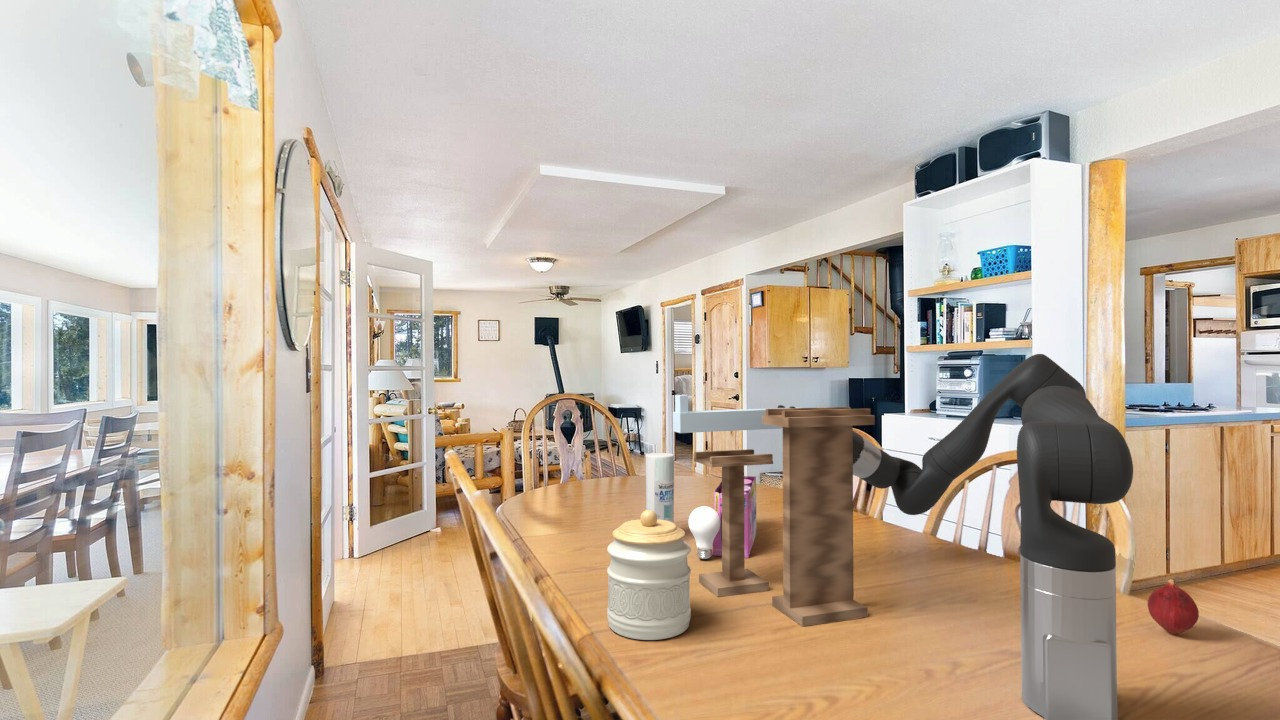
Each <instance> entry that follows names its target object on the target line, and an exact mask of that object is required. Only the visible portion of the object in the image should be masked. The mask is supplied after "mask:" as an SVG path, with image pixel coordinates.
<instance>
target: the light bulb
mask: <svg viewBox="0 0 1280 720" xmlns="http://www.w3.org/2000/svg"><path fill="white" fill-rule="evenodd" d="M687 524H688V527H689V530H690V532H691V534H692V535H693V537H694V540H695V545H696V548H697V552H696V553H697V555H696V556H697V557H698V558H700V559H701V560H703V561H705V560H709V559H710V558H711V557H712V556H713V540H714V538H715V536H716V534H717V533H718V531H719V529H720V518H719V515H718V513H717V512H716V511H715V510H714V508H712V507H711V506H707V505H702V506H698V507H696V508H695V509H693V510H692V511H691V513H690V515H689V517H688V522H687Z"/></svg>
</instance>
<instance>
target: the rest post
mask: <svg viewBox="0 0 1280 720" xmlns="http://www.w3.org/2000/svg"><path fill="white" fill-rule="evenodd" d="M693 453H694V454H693V455H694V458H693V462H696V463H699V464H702V465H705V466H707V467H709V468H721V481H722V556H721V571H716V572H714V571H713V572H705V573H699V574H698V583H699V584H701V586H703V587H704V588H706V589H707V590H708V591H709V592H711V593H712V594H713V595H715V596H716V597H717V598H721V597H728V596H729V597H730V596H737V595H745V594H753V593H762V592H768V591H769V590H770V589H769V588H770V585H769V584H770V582H769V581H768V580H766V579H765V578H763V577H761V576H760V575H758V574H756V573H755V572H753V571H752V570H750V569H748V568H745V558H744V476H745V466H762V465H764V466H765V465H773V464H774V460H773V458H774V457H773V456H774V455H773V453H761V454H760V453H759V454H755V449H730V450H711V451H710V450H709V451H708V450H707V451H694V452H693Z"/></svg>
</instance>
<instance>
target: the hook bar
mask: <svg viewBox="0 0 1280 720" xmlns="http://www.w3.org/2000/svg"><path fill="white" fill-rule="evenodd" d="M674 399H675V400H674V401H675V402H674V403H675V404H674V405H675V406H674V407H675V409H674V410H675V411H673V412H672V431H673V432H674V433H678V434H689V433H711V432H712V433H713V432H714V433H715V432H733V431H734V432H735V431H753V430H755V431H756V430H758V431H759V430H777V429H783V427H781V426H775V425H769V424H762V414H766V409H779V408H777V407H776V408H775V407H771V408H770V407H769V408H768V407H767V408H743V409H740V408H739V409H714V410H689V395H686V394H675V395H674ZM794 407H795V408H801V407H800V406H794Z"/></svg>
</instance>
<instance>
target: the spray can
mask: <svg viewBox="0 0 1280 720" xmlns="http://www.w3.org/2000/svg"><path fill="white" fill-rule="evenodd" d="M674 479H675V456H674V454H673V453H669V452H652V453H651V452H650V453H646V454H645V510H652V511H654V512H655V513H656V515H657V519H660V520H666V521H670V522H673V523H674V524H675V522H674V517H675V516H674V514H675V513H674V510H675V504H674V503H675V501H674V499H675V498H674V497H675V494H674V493H675V492H674V491H675V480H674Z"/></svg>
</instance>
